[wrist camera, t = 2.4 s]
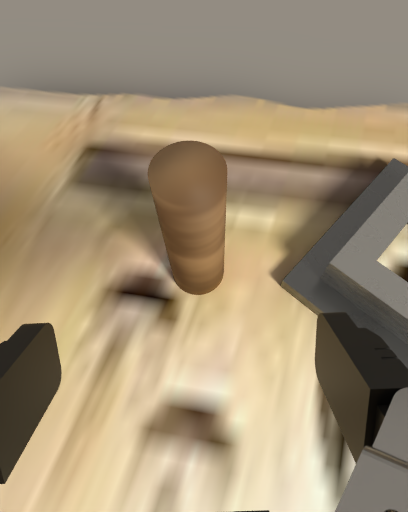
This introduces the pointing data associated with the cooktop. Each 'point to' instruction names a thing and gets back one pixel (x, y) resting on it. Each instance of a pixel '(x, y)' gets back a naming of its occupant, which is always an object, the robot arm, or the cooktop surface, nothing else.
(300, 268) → the plate
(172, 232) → the dowel pin
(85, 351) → the cooktop surface
